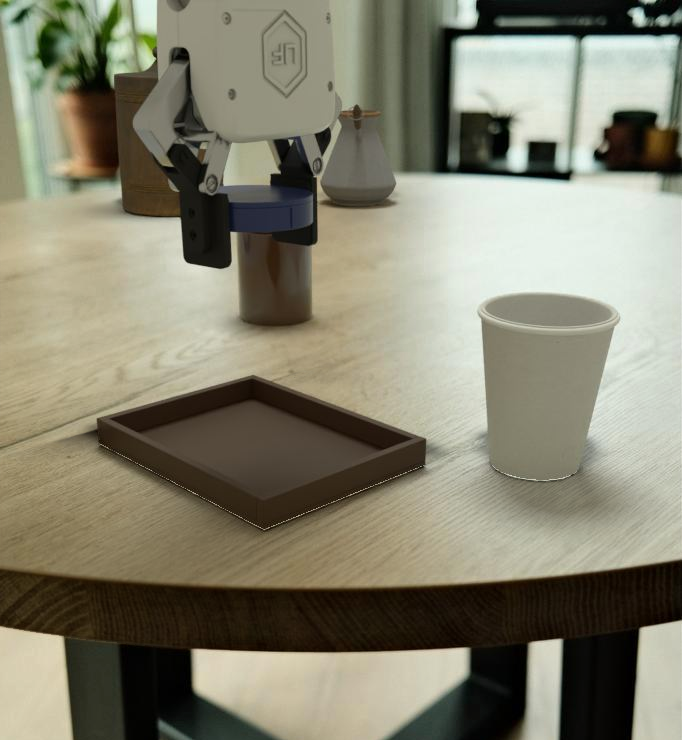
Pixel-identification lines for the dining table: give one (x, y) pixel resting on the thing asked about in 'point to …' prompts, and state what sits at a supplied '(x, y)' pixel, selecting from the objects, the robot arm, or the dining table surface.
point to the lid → (268, 207)
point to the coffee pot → (358, 162)
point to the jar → (273, 280)
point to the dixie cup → (542, 378)
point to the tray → (261, 447)
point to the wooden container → (141, 150)
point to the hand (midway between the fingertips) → (253, 251)
